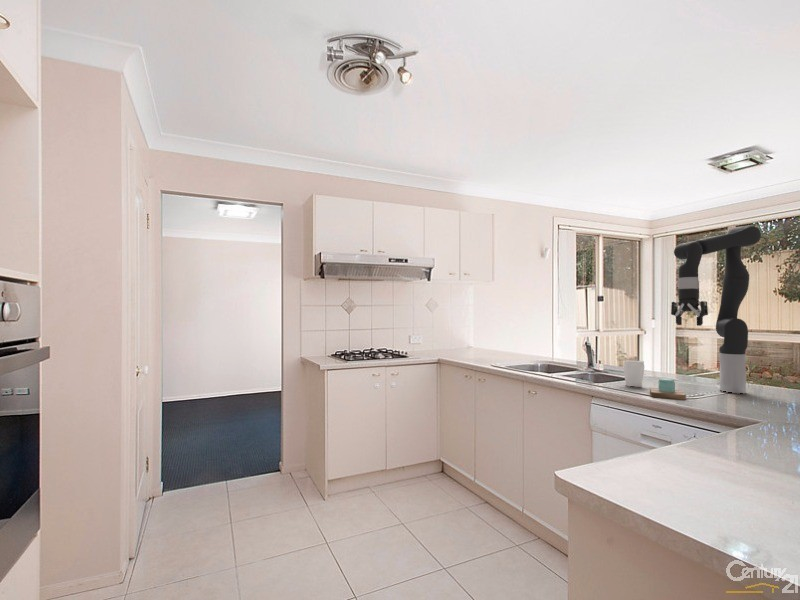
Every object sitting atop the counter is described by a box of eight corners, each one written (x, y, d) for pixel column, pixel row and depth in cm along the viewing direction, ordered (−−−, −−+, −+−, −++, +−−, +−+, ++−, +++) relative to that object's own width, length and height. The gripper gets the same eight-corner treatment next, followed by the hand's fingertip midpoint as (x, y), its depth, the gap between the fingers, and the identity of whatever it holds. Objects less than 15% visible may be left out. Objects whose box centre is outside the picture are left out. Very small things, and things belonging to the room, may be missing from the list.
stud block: (649, 392, 185) (649, 379, 186) (682, 394, 180) (682, 382, 180) (651, 397, 175) (651, 383, 175) (685, 400, 169) (685, 386, 169)
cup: (648, 387, 197) (648, 362, 197) (629, 387, 197) (629, 362, 197) (637, 384, 206) (637, 360, 206) (619, 384, 206) (619, 359, 206)
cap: (660, 391, 176) (660, 380, 176) (657, 389, 181) (657, 378, 181) (676, 393, 174) (675, 381, 174) (672, 390, 179) (672, 379, 179)
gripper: (666, 288, 187) (667, 324, 186) (699, 287, 173) (700, 326, 173) (678, 289, 189) (678, 324, 189) (711, 287, 176) (712, 325, 176)
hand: (689, 325), depth 181 cm, fingers open, 8 cm apart
